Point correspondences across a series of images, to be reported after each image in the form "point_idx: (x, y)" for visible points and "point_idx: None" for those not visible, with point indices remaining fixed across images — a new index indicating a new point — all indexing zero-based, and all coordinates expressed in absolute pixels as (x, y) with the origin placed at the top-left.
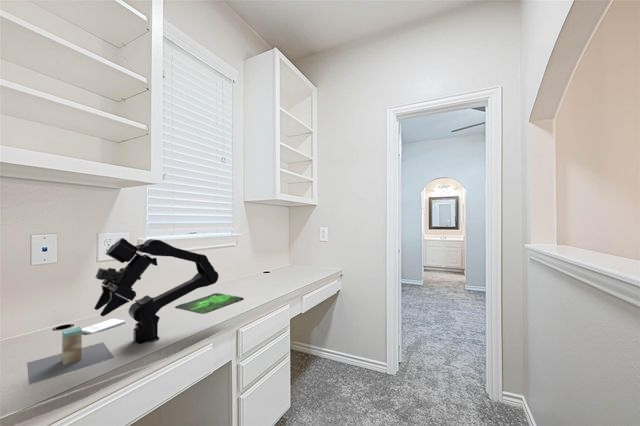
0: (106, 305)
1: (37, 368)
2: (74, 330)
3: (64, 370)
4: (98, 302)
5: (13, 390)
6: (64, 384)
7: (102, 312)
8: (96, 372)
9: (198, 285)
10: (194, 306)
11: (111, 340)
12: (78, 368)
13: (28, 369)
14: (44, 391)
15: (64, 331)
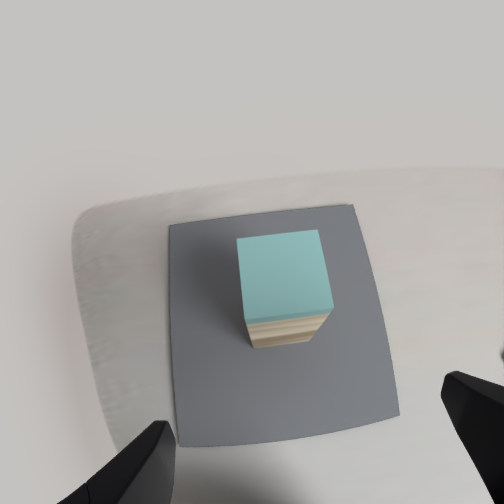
0: (104, 480)
1: (280, 230)
2: (268, 283)
3: (193, 299)
4: (483, 400)
5: (178, 201)
6: (107, 301)
7: (139, 437)
8: (116, 380)
9: None
10: None
11: (410, 441)
12: (173, 337)
13: (291, 211)
14: (108, 261)
15: (290, 239)
